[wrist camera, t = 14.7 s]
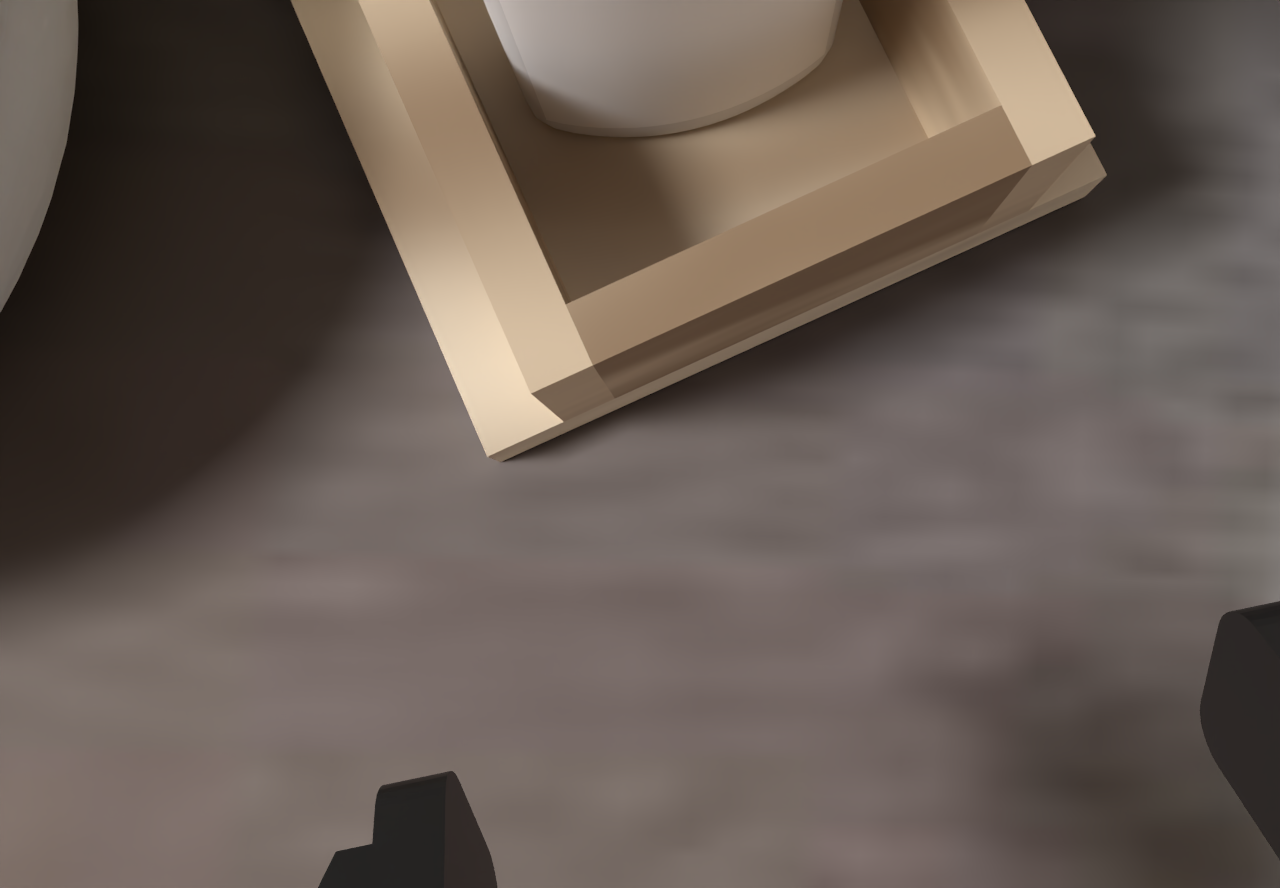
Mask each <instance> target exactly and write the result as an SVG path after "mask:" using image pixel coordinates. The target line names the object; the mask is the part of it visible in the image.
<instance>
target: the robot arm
mask: <svg viewBox="0 0 1280 888" xmlns="http://www.w3.org/2000/svg"><path fill="white" fill-rule="evenodd" d="M1200 716H1201V724H1202V729H1203V732H1204V736H1205V739H1206V742H1207V745H1208V747H1209V750H1210V752H1211V754H1212V756H1213V758H1214V760H1215V762H1216V763H1217V765H1218V767H1219V768H1220V770H1221V771H1222V773H1223V774H1224V776H1225V777H1226V779H1227V780H1228V782H1229V783H1230V785H1231V786H1232V788H1233V789H1234V791H1235V792H1236V794H1237V796H1238V797H1239V799H1240V800H1241V802H1242V803H1243V805H1244V806H1245V808H1246V809H1247V811H1248V812H1249V814H1250V815H1251V817H1252V818H1253V820H1254V821H1255V823H1256V824H1257V826H1258V827H1259V829H1260V830H1261V832H1262V833H1263V835H1264V837H1265V838H1266V840H1267V841H1268V843H1269V844H1270V846H1271V847H1272V849H1273V850H1274V852H1275V853H1276V855H1277V856H1278V858H1279V859H1280V601H1279V602H1274V603H1269V604H1264V605H1259V606H1255V607H1250V608H1245V609H1240V610H1235V611H1231V612H1228V613H1226V614H1224V615H1223V616H1222V618H1221V620H1220V622H1219V626H1218V630H1217V634H1216V639H1215V643H1214V647H1213V652H1212V656H1211V660H1210V665H1209V669H1208V673H1207V678H1206V682H1205V686H1204V690H1203V695H1202V699H1201V705H1200ZM318 888H497V882H496V876H495V871H494V866H493V862H492V858H491V855H490V852H489V849H488V847H487V845H486V842H485V840H484V838H483V835H482V833H481V831H480V828H479V826H478V824H477V821H476V819H475V817H474V814H473V812H472V810H471V807H470V805H469V803H468V800H467V798H466V796H465V793H464V791H463V789H462V786H461V784H460V782H459V780H458V778H457V776H456V774H455V773H454V772H453V771H449V772H444V773H440V774H435V775H430V776H425V777H420V778H416V779H411V780H406V781H401V782H397V783H392V784H387V785H383V786H381V787H380V789H379V791H378V794H377V798H376V804H375V816H374V829H373V843H372V844H370V845H365V846H360V847H356V848H351V849H346V850H341V851H337V852H336V853H335V855H334V857H333V859H332V861H331V863H330V865H329V867H328V869H327V871H326V873H325V875H324V877H323V879H322V881H321V883H320V885H319V887H318Z"/></svg>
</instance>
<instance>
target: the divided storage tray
mask: <svg viewBox="0 0 1280 888" xmlns="http://www.w3.org/2000/svg"><path fill="white" fill-rule="evenodd" d="M291 2H292V5H293V7H294V9H295V12H296V14H297V16H298V19H299V21H300V23H301V26H302V28H303V30H304V33H305V35H306V37H307V39H308V42H309V44H310V46H311V49H312V51H313V53H314V56H315V58H316V60H317V63H318V65H319V67H320V70H321V72H322V74H323V77H324V79H325V81H326V84H327V86H328V88H329V91H330V93H331V95H332V97H333V100H334V102H335V104H336V107H337V109H338V111H339V114H340V116H341V118H342V121H343V123H344V125H345V128H346V130H347V132H348V135H349V137H350V139H351V142H352V144H353V146H354V149H355V151H356V153H357V155H358V158H359V160H360V162H361V165H362V167H363V169H364V172H365V174H366V176H367V179H368V181H369V183H370V186H371V188H372V190H373V193H374V195H375V197H376V200H377V202H378V204H379V206H380V209H381V211H382V213H383V216H384V218H385V220H386V223H387V225H388V227H389V230H390V232H391V234H392V237H393V239H394V241H395V244H396V246H397V248H398V251H399V253H400V255H401V258H402V260H403V262H404V264H405V267H406V269H407V271H408V274H409V276H410V278H411V281H412V283H413V285H414V288H415V290H416V292H417V295H418V297H419V299H420V302H421V304H422V306H423V309H424V311H425V313H426V316H427V318H428V320H429V322H430V325H431V327H432V329H433V332H434V334H435V336H436V339H437V341H438V343H439V346H440V348H441V350H442V353H443V355H444V357H445V360H446V362H447V364H448V367H449V369H450V371H451V374H452V376H453V378H454V380H455V383H456V385H457V387H458V390H459V392H460V394H461V397H462V399H463V401H464V404H465V406H466V408H467V411H468V413H469V415H470V418H471V420H472V422H473V425H474V427H475V429H476V432H477V434H478V436H479V438H480V441H481V443H482V445H483V448H484V450H485V452H486V455H487V457H489V458H492V459H494V460H497V461H499V462H502V461H504V460H506V459H509V458H511V457H513V456H515V455H517V454H520V453H522V452H524V451H526V450H528V449H531V448H533V447H535V446H537V445H539V444H542V443H544V442H546V441H548V440H550V439H553V438H555V437H557V436H559V435H561V434H564V433H566V432H568V431H570V430H572V429H575V428H577V427H579V426H581V425H583V424H586V423H588V422H590V421H592V420H594V419H597V418H599V417H601V416H603V415H605V414H608V413H610V412H612V411H614V410H616V409H619V408H621V407H623V406H625V405H627V404H630V403H632V402H634V401H636V400H638V399H641V398H643V397H645V396H647V395H649V394H652V393H654V392H656V391H658V390H660V389H663V388H665V387H667V386H669V385H671V384H674V383H676V382H678V381H680V380H682V379H685V378H687V377H689V376H691V375H693V374H696V373H698V372H700V371H702V370H704V369H707V368H709V367H711V366H713V365H715V364H718V363H720V362H722V361H724V360H726V359H729V358H731V357H733V356H735V355H738V354H740V353H742V352H744V351H746V350H749V349H751V348H753V347H755V346H757V345H760V344H762V343H764V342H766V341H768V340H771V339H773V338H775V337H777V336H779V335H782V334H784V333H786V332H788V331H790V330H793V329H795V328H797V327H799V326H801V325H804V324H806V323H808V322H810V321H812V320H815V319H817V318H819V317H821V316H823V315H826V314H828V313H830V312H832V311H834V310H837V309H839V308H841V307H843V306H845V305H848V304H850V303H852V302H854V301H856V300H859V299H861V298H863V297H865V296H867V295H870V294H872V293H874V292H876V291H878V290H881V289H883V288H885V287H887V286H889V285H892V284H894V283H896V282H898V281H900V280H903V279H905V278H907V277H909V276H911V275H914V274H916V273H918V272H920V271H922V270H925V269H927V268H929V267H931V266H933V265H936V264H938V263H940V262H942V261H944V260H947V259H949V258H951V257H953V256H955V255H958V254H960V253H962V252H964V251H966V250H969V249H971V248H973V247H975V246H977V245H980V244H982V243H984V242H986V241H988V240H991V239H993V238H995V237H997V236H999V235H1002V234H1004V233H1006V232H1008V231H1011V230H1013V229H1015V228H1017V227H1019V226H1022V225H1024V224H1026V223H1028V222H1030V221H1033V220H1035V219H1037V218H1039V217H1041V216H1044V215H1046V214H1048V213H1050V212H1052V211H1055V210H1057V209H1059V208H1061V207H1063V206H1066V205H1068V204H1070V203H1072V202H1074V201H1077V200H1079V199H1081V198H1083V197H1085V196H1086V195H1087V194H1088V193H1089V192H1090V191H1091V190H1092V189H1093V188H1094V187H1095V186H1096V185H1097V184H1098V183H1099V182H1100V181H1101V180H1102V179H1103V178H1105V177H1106V176H1107V174H1106V172H1105V170H1104V168H1103V166H1102V164H1101V162H1100V160H1099V158H1098V156H1097V154H1096V153H1095V151H1094V149H1093V147H1092V145H1091V143H1090V142H1091V141H1092V140H1093V139H1094V138H1095V134H1094V132H1093V130H1092V128H1091V126H1090V124H1089V123H1088V121H1087V119H1086V117H1085V115H1084V113H1083V111H1082V109H1081V107H1080V105H1079V103H1078V101H1077V100H1076V98H1075V96H1074V94H1073V92H1072V90H1071V88H1070V86H1069V84H1068V82H1067V80H1066V79H1065V77H1064V75H1063V73H1062V71H1061V69H1060V67H1059V65H1058V63H1057V61H1056V59H1055V57H1054V56H1053V54H1052V52H1051V50H1050V48H1049V46H1048V44H1047V42H1046V40H1045V38H1044V36H1043V35H1042V33H1041V31H1040V29H1039V27H1038V25H1037V23H1036V21H1035V19H1034V17H1033V15H1032V13H1031V12H1030V10H1029V8H1028V6H1027V4H1026V2H1025V0H843V2H842V6H841V11H840V15H839V20H838V24H837V29H836V33H835V37H834V41H833V45H832V47H831V49H830V50H829V52H828V53H827V55H826V56H825V58H824V59H823V60H822V62H821V63H820V64H819V65H818V66H817V67H816V68H815V69H814V70H813V71H811V72H810V73H809V74H808V75H806V76H805V77H804V78H803V79H801V80H800V81H798V82H797V83H795V84H794V85H792V86H791V87H789V88H788V89H786V90H785V91H783V92H781V93H780V94H778V95H776V96H775V97H773V98H771V99H770V100H768V101H766V102H764V103H762V104H760V105H758V106H756V107H754V108H752V109H750V110H748V111H745V112H743V113H741V114H739V115H736V116H733V117H731V118H728V119H726V120H723V121H720V122H717V123H714V124H711V125H707V126H704V127H700V128H696V129H692V130H687V131H683V132H678V133H671V134H665V135H657V136H645V137H604V136H592V135H585V134H577V133H572V132H568V131H563V130H559V129H555V128H553V127H551V126H549V125H547V124H546V123H544V122H542V121H541V120H539V119H537V118H536V117H535V115H534V113H533V112H532V110H531V108H530V106H529V105H528V103H527V101H526V99H525V97H524V95H523V93H522V90H521V88H520V86H519V83H518V81H517V79H516V76H515V74H514V72H513V69H512V67H511V65H510V62H509V60H508V58H507V55H506V53H505V51H504V48H503V46H502V43H501V41H500V39H499V36H498V34H497V32H496V29H495V27H494V25H493V22H492V20H491V18H490V15H489V13H488V10H487V8H486V6H485V3H484V1H483V0H291Z"/></svg>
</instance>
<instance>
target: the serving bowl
mask: <svg viewBox="0 0 1280 888" xmlns="http://www.w3.org/2000/svg"><path fill="white" fill-rule="evenodd" d="M77 54H78V4H77V0H0V312H1V311H2V309H3V307H4V305H5V303H6V301H7V300H8V298H9V296H10V294H11V292H12V290H13V288H14V287H15V285H16V283H17V281H18V279H19V277H20V275H21V273H22V270H23V268H24V266H25V264H26V261H27V259H28V257H29V255H30V252H31V250H32V248H33V246H34V244H35V241H36V239H37V237H38V235H39V232H40V229H41V226H42V224H43V221H44V218H45V215H46V212H47V210H48V207H49V204H50V201H51V198H52V195H53V191H54V187H55V184H56V180H57V176H58V173H59V169H60V165H61V162H62V158H63V154H64V151H65V147H66V143H67V138H68V131H69V125H70V119H71V112H72V106H73V100H74V93H75V81H76V67H77Z"/></svg>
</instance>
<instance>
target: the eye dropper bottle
mask: <svg viewBox="0 0 1280 888" xmlns="http://www.w3.org/2000/svg"><path fill="white" fill-rule="evenodd" d="M483 1H484V3H485V6H486V8H487V10H488V13H489V15H490V18H491V20H492V22H493V25H494V27H495V29H496V32H497V34H498V36H499V39H500V41H501V43H502V46H503V48H504V51H505V53H506V55H507V58H508V60H509V62H510V65H511V67H512V69H513V72H514V74H515V76H516V79H517V81H518V83H519V86H520V88H521V90H522V93H523V95H524V97H525V99H526V101H527V103H528V105H529V106H530V108H531V110H532V112H533V113H534V115H535V117H536V118H537V119H539V120H541V121H542V122H544V123H546V124H547V125H549V126H551V127H553V128H555V129H559V130H563V131H568V132H572V133H577V134H585V135H592V136H604V137H645V136H657V135H665V134H671V133H678V132H683V131H687V130H692V129H696V128H700V127H704V126H707V125H711V124H714V123H717V122H720V121H723V120H726V119H728V118H731V117H733V116H736V115H739V114H741V113H743V112H745V111H748V110H750V109H752V108H754V107H756V106H758V105H760V104H762V103H764V102H766V101H768V100H770V99H771V98H773V97H775V96H776V95H778V94H780V93H781V92H783V91H785V90H786V89H788V88H789V87H791V86H792V85H794V84H795V83H797V82H798V81H800V80H801V79H803V78H804V77H805V76H806V75H808V74H809V73H810V72H811V71H813V70H814V69H815V68H816V67H817V66H818V65H819V64H820V63H821V62H822V60H823V59H824V58H825V56H826V55H827V53H828V52H829V50H830V49H831V47H832V45H833V41H834V37H835V33H836V29H837V24H838V20H839V15H840V11H841V6H842V2H843V0H483Z"/></svg>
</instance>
